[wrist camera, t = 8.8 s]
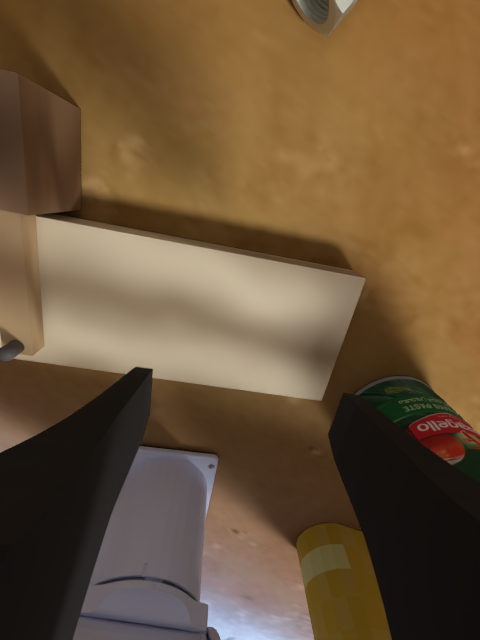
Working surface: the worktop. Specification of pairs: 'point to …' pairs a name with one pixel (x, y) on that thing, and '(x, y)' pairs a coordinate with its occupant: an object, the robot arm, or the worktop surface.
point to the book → (341, 584)
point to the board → (189, 309)
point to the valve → (323, 13)
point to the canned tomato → (427, 420)
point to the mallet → (31, 198)
